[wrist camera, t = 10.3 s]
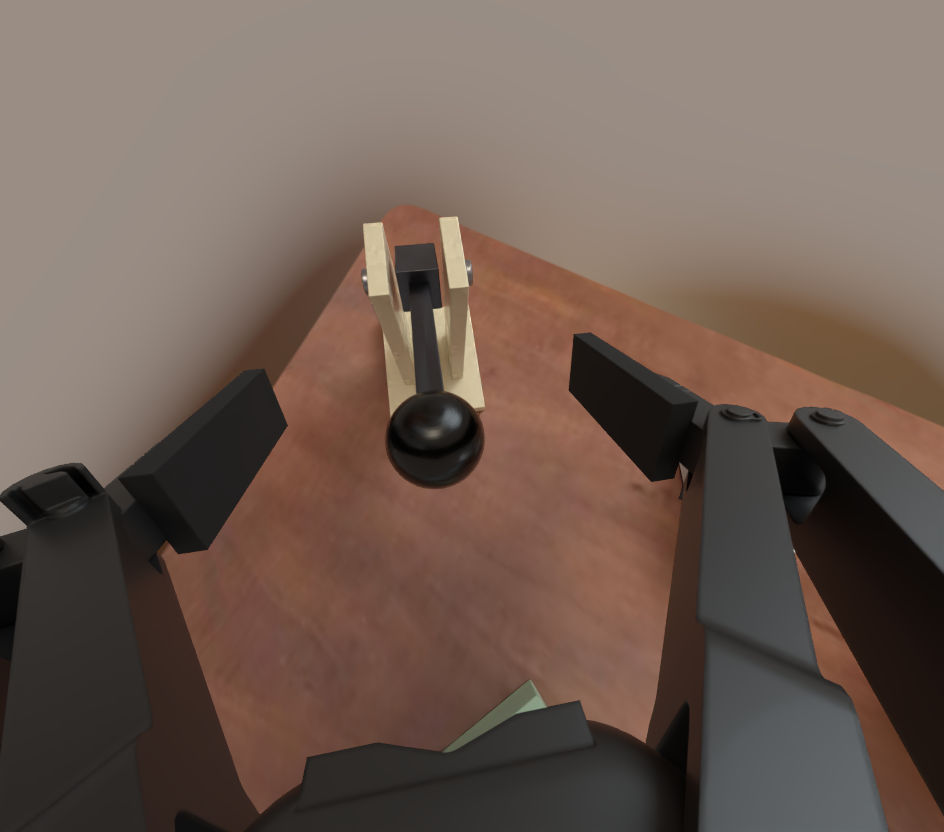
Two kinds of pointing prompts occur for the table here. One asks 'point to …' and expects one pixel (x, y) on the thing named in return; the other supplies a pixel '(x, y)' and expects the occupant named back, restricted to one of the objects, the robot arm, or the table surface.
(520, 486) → the table surface
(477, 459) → the lever
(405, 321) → the cream lever bracket
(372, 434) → the table surface
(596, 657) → the table surface
